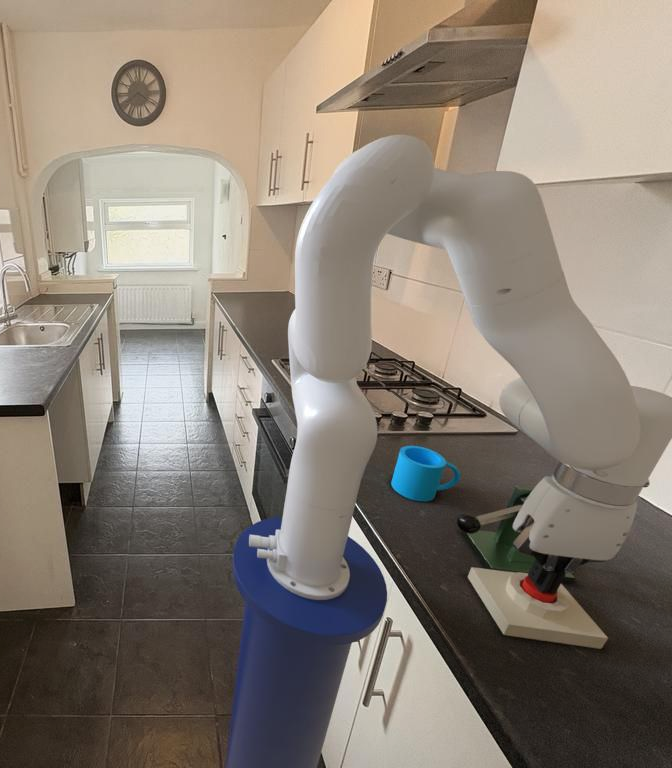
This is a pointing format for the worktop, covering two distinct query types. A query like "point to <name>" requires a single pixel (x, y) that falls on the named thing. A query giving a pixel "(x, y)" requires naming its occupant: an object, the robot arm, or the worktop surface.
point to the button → (537, 592)
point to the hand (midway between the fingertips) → (540, 585)
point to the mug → (421, 473)
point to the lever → (486, 518)
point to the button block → (534, 611)
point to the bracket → (505, 543)
